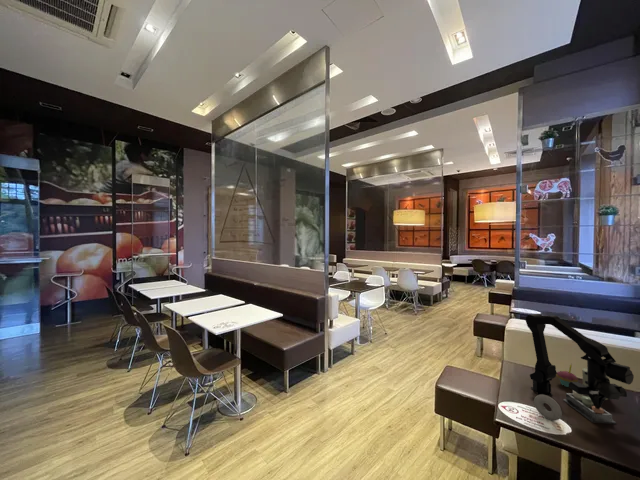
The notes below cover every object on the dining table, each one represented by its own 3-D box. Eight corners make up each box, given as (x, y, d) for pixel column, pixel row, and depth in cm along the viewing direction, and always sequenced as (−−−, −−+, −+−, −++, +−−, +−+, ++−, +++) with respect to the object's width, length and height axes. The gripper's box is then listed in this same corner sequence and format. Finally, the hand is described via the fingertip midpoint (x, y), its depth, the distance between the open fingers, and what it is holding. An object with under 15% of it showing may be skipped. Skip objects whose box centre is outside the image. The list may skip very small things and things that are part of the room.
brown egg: (597, 418, 114) (596, 410, 114) (589, 413, 117) (589, 405, 117) (606, 419, 113) (606, 411, 113) (598, 414, 117) (598, 406, 117)
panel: (592, 422, 113) (592, 413, 113) (563, 400, 128) (562, 393, 129) (616, 424, 112) (615, 415, 112) (583, 401, 127) (583, 394, 127)
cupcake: (572, 382, 145) (572, 360, 145) (582, 390, 136) (581, 367, 137) (553, 380, 147) (552, 358, 148) (561, 388, 139) (560, 365, 139)
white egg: (577, 401, 124) (577, 394, 124) (570, 397, 127) (570, 389, 127) (585, 402, 123) (585, 394, 123) (579, 397, 127) (578, 390, 127)
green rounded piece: (586, 408, 119) (586, 400, 119) (579, 403, 122) (579, 395, 122) (595, 408, 118) (595, 400, 118) (588, 403, 122) (588, 396, 122)
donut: (532, 413, 120) (531, 390, 120) (536, 410, 121) (536, 389, 121) (559, 427, 110) (558, 403, 111) (564, 424, 112) (563, 401, 112)
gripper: (589, 381, 109) (590, 419, 108) (640, 383, 106) (641, 422, 106) (567, 368, 120) (568, 402, 119) (613, 370, 117) (614, 405, 117)
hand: (597, 408), depth 115 cm, fingers closed, pressing on brown egg
